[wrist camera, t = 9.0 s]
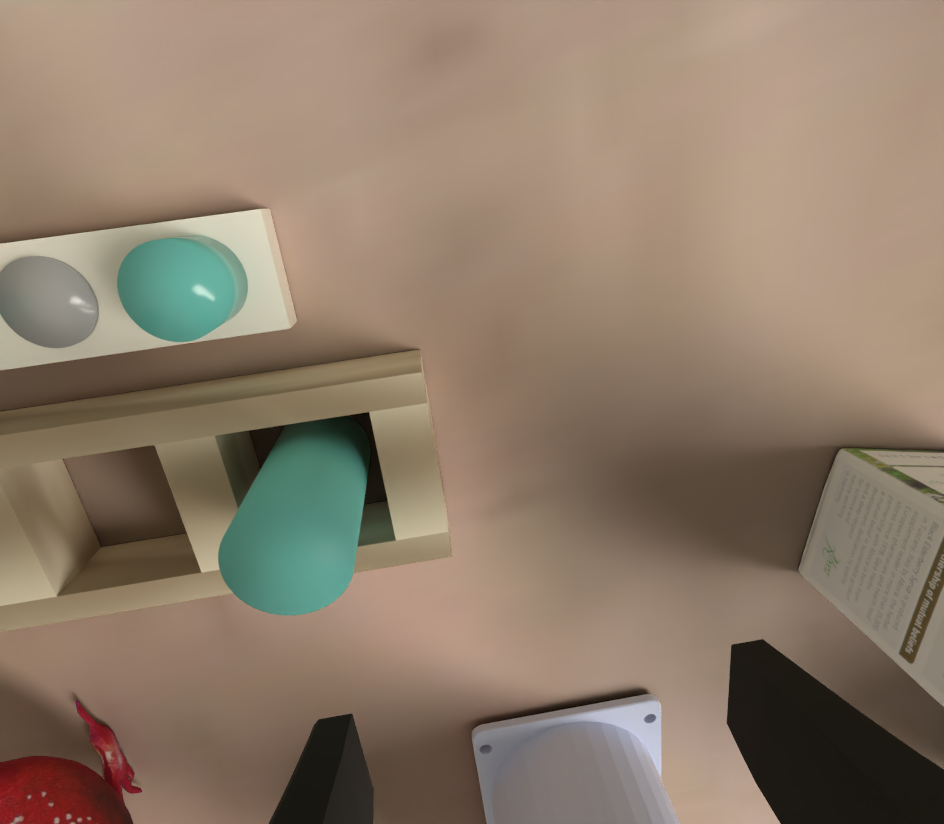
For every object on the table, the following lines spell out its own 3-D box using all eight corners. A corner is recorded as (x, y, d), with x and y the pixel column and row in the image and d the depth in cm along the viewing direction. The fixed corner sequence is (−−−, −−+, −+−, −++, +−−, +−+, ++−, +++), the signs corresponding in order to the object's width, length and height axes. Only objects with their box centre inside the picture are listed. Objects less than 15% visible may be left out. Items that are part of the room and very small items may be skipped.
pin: (378, 483, 19) (366, 602, 13) (290, 498, 19) (239, 625, 13) (361, 401, 18) (338, 493, 12) (266, 417, 18) (200, 517, 12)
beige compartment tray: (447, 514, 19) (462, 639, 14) (-115, 606, 18) (-344, 781, 13) (420, 349, 17) (424, 419, 12) (-219, 444, 16) (-548, 569, 11)
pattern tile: (297, 321, 17) (273, 345, 14) (-120, 381, 16) (-233, 419, 13) (269, 208, 15) (238, 209, 13) (-181, 268, 15) (-319, 284, 12)
